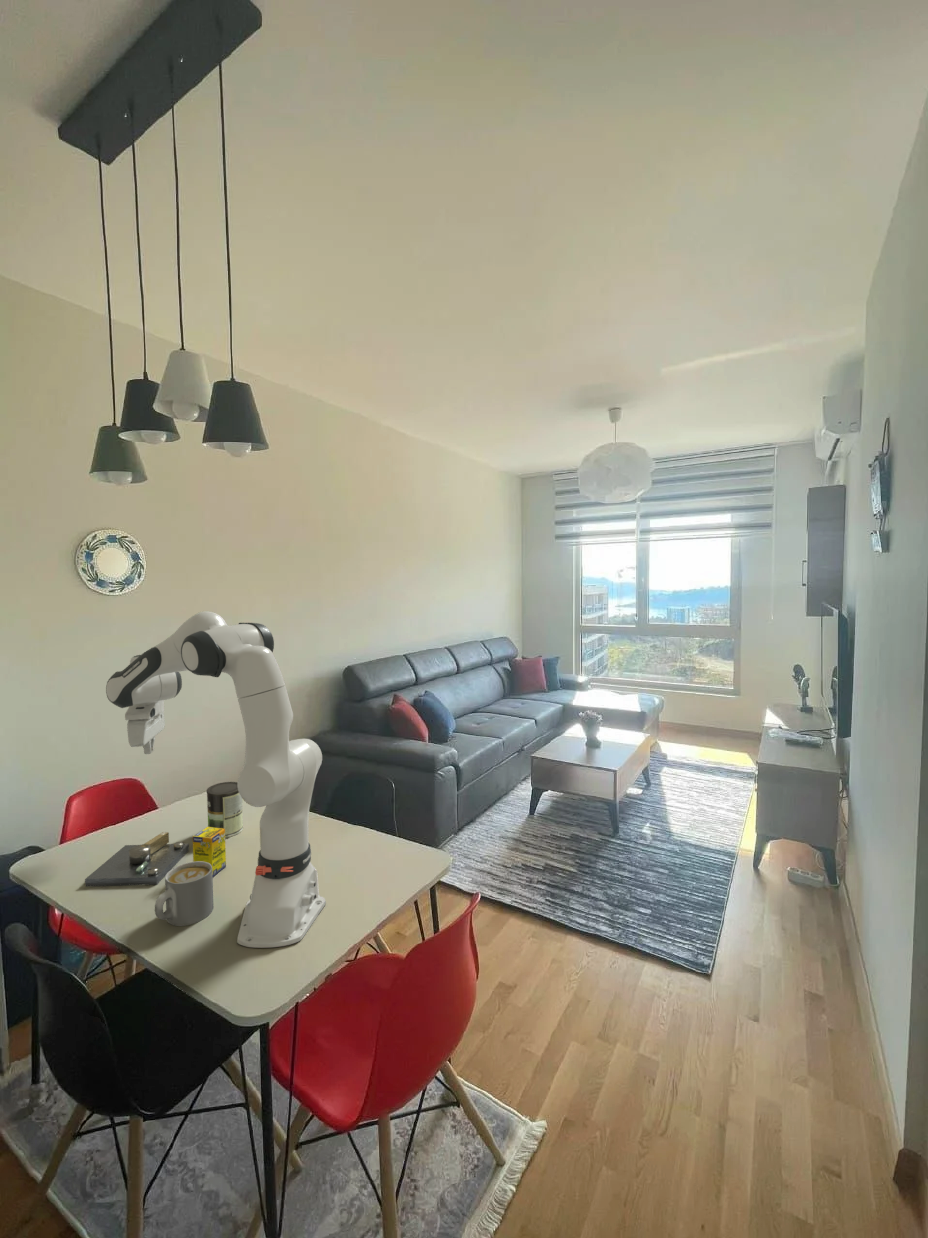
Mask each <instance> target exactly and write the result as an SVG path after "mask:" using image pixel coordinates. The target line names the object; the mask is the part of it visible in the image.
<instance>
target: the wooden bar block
mask: <svg viewBox="0 0 928 1238" xmlns="http://www.w3.org/2000/svg"><path fill="white" fill-rule="evenodd" d="M169 836H170V833H169V832H167V831H162V832H161V833H159V834H157V835H156V836H154V837H153V838H151V839H149V840H148V841H147V842H145V843H142V844H136V845H137V846H134V847H132V848H131V849H130V850H129V861H130V863H131V864H139V863H143V862H145V861H147V860H149V859H150V858H151V854H152V853H154V852H155V851H157V850H158V849H160V848H161V847H163V846H164V845H166V844H170V837H169Z"/></svg>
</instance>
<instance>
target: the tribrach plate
mask: <svg viewBox="0 0 928 1238" xmlns="http://www.w3.org/2000/svg"><path fill="white" fill-rule="evenodd" d="M137 845H138V844H126V845H124V846H123V847H122V848H120V849H118V851H117V852H116V853H114V854H113V855H112V856H111V857H109V858H108V859H107V860H106V861H105V862H103V864H101V865H100V866H99V867H98V868H97V869H95V870H94V871H93V872H91V874H89V875H88V876H87V877H86V878H85V879H84V881H85V884H84V885H85V887H87V888H88V887H110V886H111V887H115V886H116V887H117V886H119V887H120V886H122V887H123V886H148V885H149V886H150V885H151V886H152V885H153V886H155V885H158V884H159V883H160V882H162V880H164V879H165V876H166V874H167V873H168V872H169V871H170V870H171V869H173V868H175V867H176V866H177V864H178V863H179V862H180V861H181V860H182V859H183V857H185V855H186V854H187V853H188V852H190V843H184V842H183V841H177V842H175V843H167V844H166V845H164V846H163V847H161V848H160V849H158V850H157V851H155V852H154V853H152V854H151V858H150V859H149V860H147V861H145V862H143V863H139V864H131V863H130V861H129V850H130V849H131V848H132V847H134V846H137Z"/></svg>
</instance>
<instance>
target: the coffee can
mask: <svg viewBox="0 0 928 1238" xmlns="http://www.w3.org/2000/svg"><path fill="white" fill-rule="evenodd" d="M237 783H238V781H224V782H219V783H215V784H213V785H210V786H209V787H207V788H206V801H207V802H206V805H207V808H206V809H207V827H213V828H222V829H225V839H227V838H232V837H234V836H237V835H239V834H240V833H242V832H243V830H244V825H243V824H244V822H243V821H244V820H243V818H244V815H243V814H244V813H243V799H242V797H241V796H240V794H239V791H238V785H237Z"/></svg>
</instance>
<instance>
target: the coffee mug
mask: <svg viewBox="0 0 928 1238" xmlns="http://www.w3.org/2000/svg"><path fill="white" fill-rule="evenodd" d="M213 878H214V877H213V875H212V865H211V864H210V863H207V862H203V861H196V862H193V861H189V862H185V863H182V864H179V865H176V866H174V867H173V868H172V869H171V870H170V871H169V872H168V873H167V874H166V876H165V877H164V884H165V885H164V887H165V889H164V890H165V891H163V892H161V894H160V895H159V896H158V897H157V898H156V900H155V904H154V913H155V916H156V918H158V919H160V920H162V921H163V920H164V921H165V920H166V922H167V923H168V924H169V925H171V926H177V927H184V926H189V925H190V926H191V925H194V924H196V923H198V922H200V921H203V920H205V919H206V918H207V917H209V916H210V915H211V914H212V913H213V911H214V884H213V883H214V882H213V881H214V880H213ZM164 904H165V909H166V910H165V911H164Z"/></svg>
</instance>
